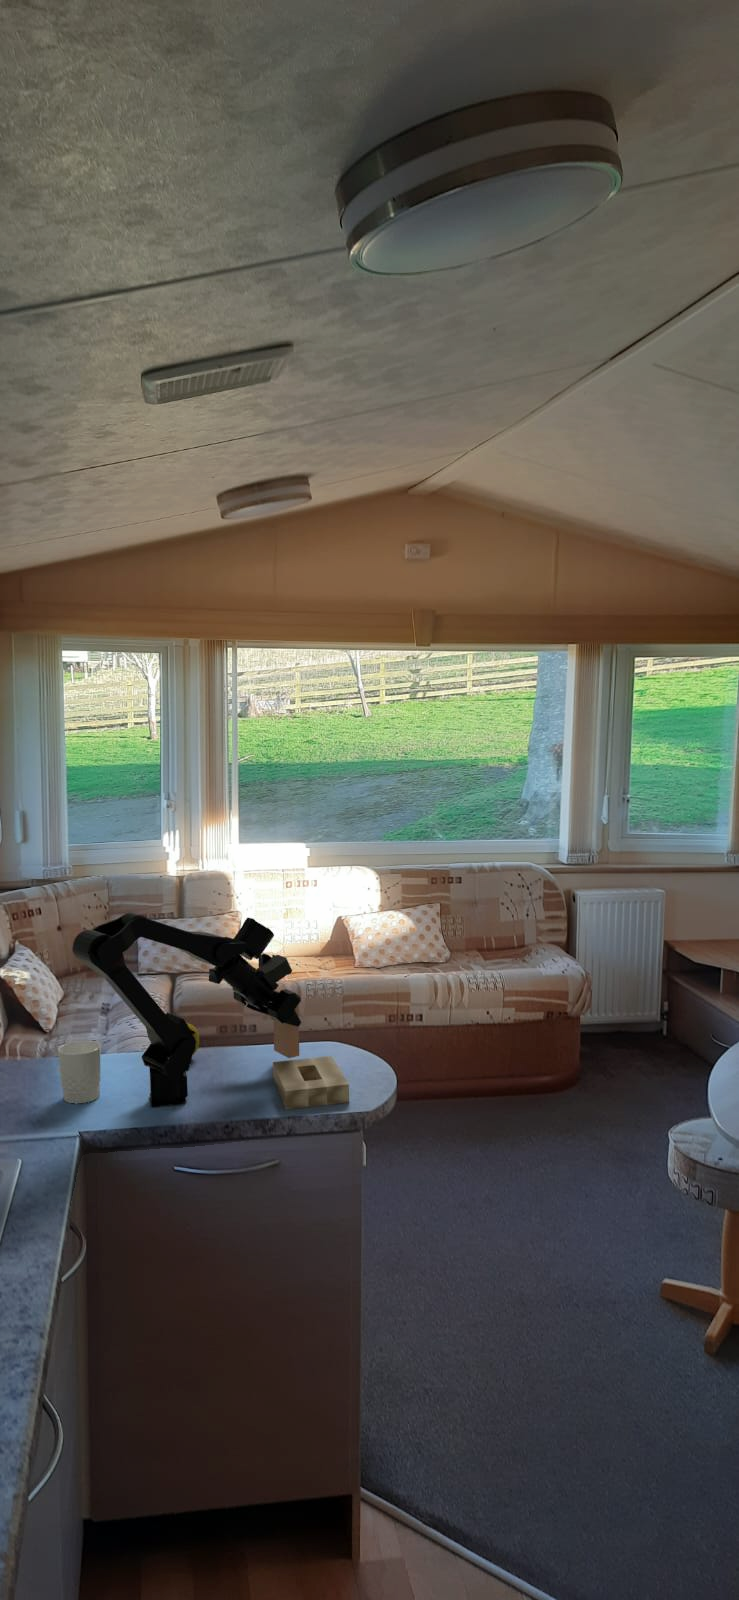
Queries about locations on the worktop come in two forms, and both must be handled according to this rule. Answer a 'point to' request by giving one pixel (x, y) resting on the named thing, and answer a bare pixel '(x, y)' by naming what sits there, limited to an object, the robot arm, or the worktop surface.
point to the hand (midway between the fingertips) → (291, 1020)
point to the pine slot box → (310, 1082)
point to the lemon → (194, 1035)
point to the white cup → (80, 1071)
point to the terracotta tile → (286, 1036)
